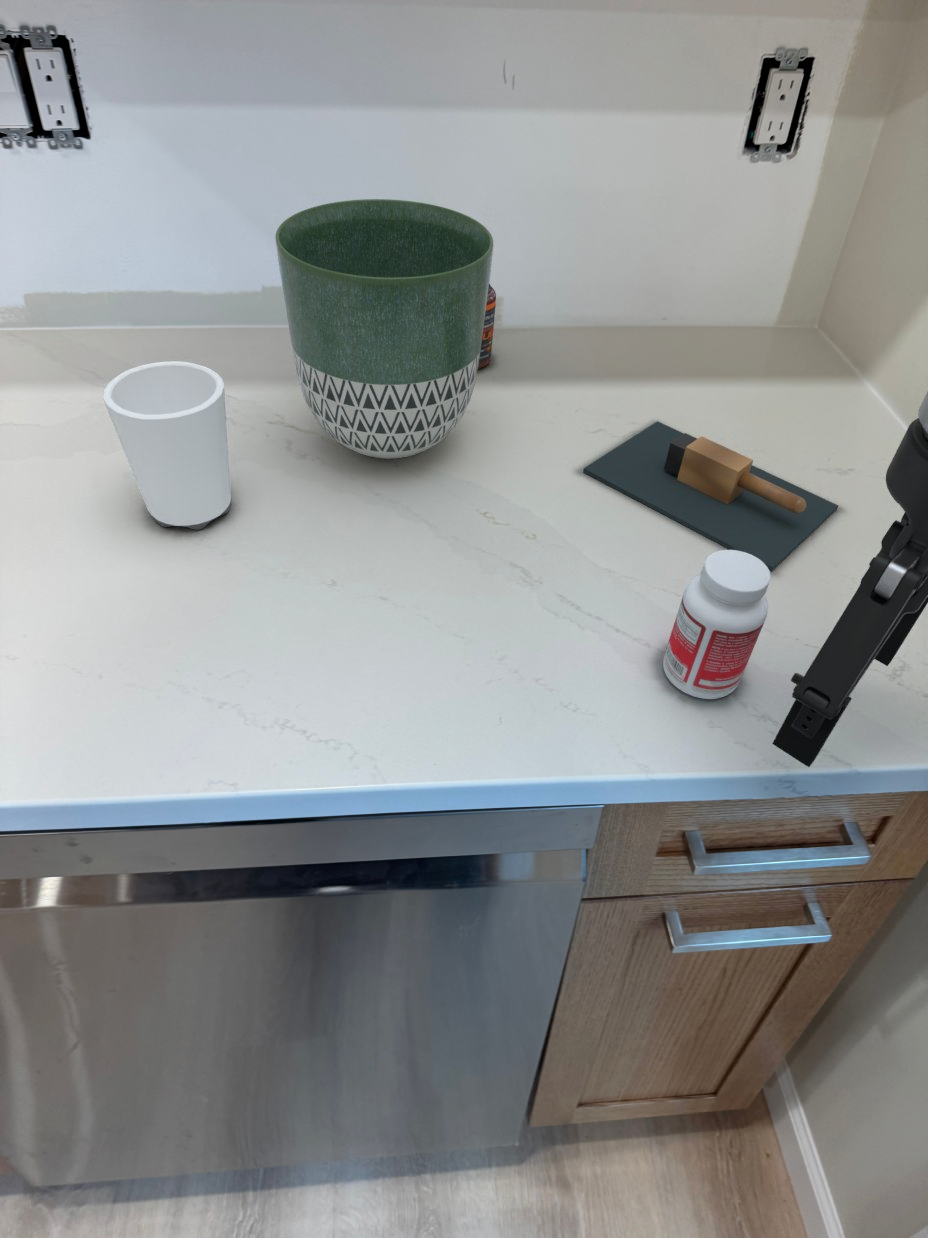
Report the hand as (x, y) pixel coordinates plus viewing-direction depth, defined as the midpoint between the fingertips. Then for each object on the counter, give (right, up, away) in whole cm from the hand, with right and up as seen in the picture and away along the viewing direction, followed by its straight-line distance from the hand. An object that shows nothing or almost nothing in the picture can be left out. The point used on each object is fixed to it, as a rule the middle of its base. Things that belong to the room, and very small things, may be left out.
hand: (834, 700), depth 59 cm
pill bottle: (-7, +1, +8) cm, 11 cm away
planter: (-35, +25, +30) cm, 52 cm away
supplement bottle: (-26, +38, +44) cm, 64 cm away
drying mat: (-1, +19, +26) cm, 33 cm away
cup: (-53, +16, +20) cm, 59 cm away
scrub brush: (+1, +18, +25) cm, 31 cm away
